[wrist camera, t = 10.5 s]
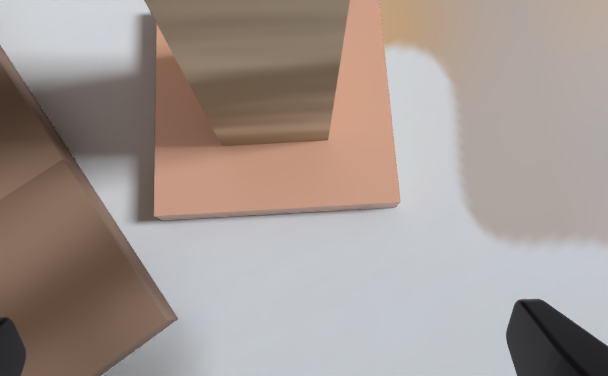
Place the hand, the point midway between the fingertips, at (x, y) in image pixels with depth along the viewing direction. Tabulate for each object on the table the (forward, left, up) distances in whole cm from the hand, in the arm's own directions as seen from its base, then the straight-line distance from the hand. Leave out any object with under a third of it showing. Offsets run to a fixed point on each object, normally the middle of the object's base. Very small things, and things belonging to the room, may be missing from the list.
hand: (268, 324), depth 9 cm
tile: (+8, +1, -9) cm, 12 cm away
